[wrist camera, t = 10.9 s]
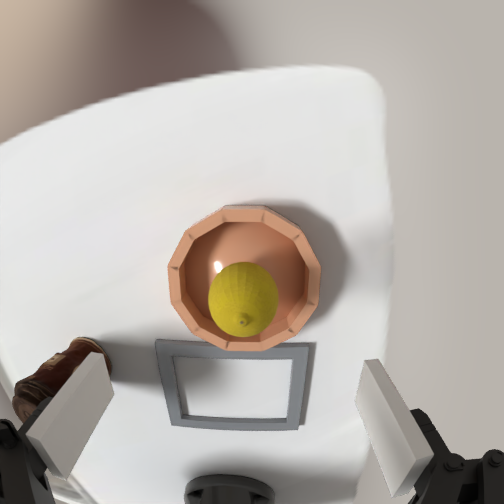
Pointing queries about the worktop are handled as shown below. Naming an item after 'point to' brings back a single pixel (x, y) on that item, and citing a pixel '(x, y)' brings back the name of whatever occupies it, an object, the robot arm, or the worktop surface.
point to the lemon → (243, 299)
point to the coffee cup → (52, 376)
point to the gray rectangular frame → (208, 350)
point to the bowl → (244, 250)
